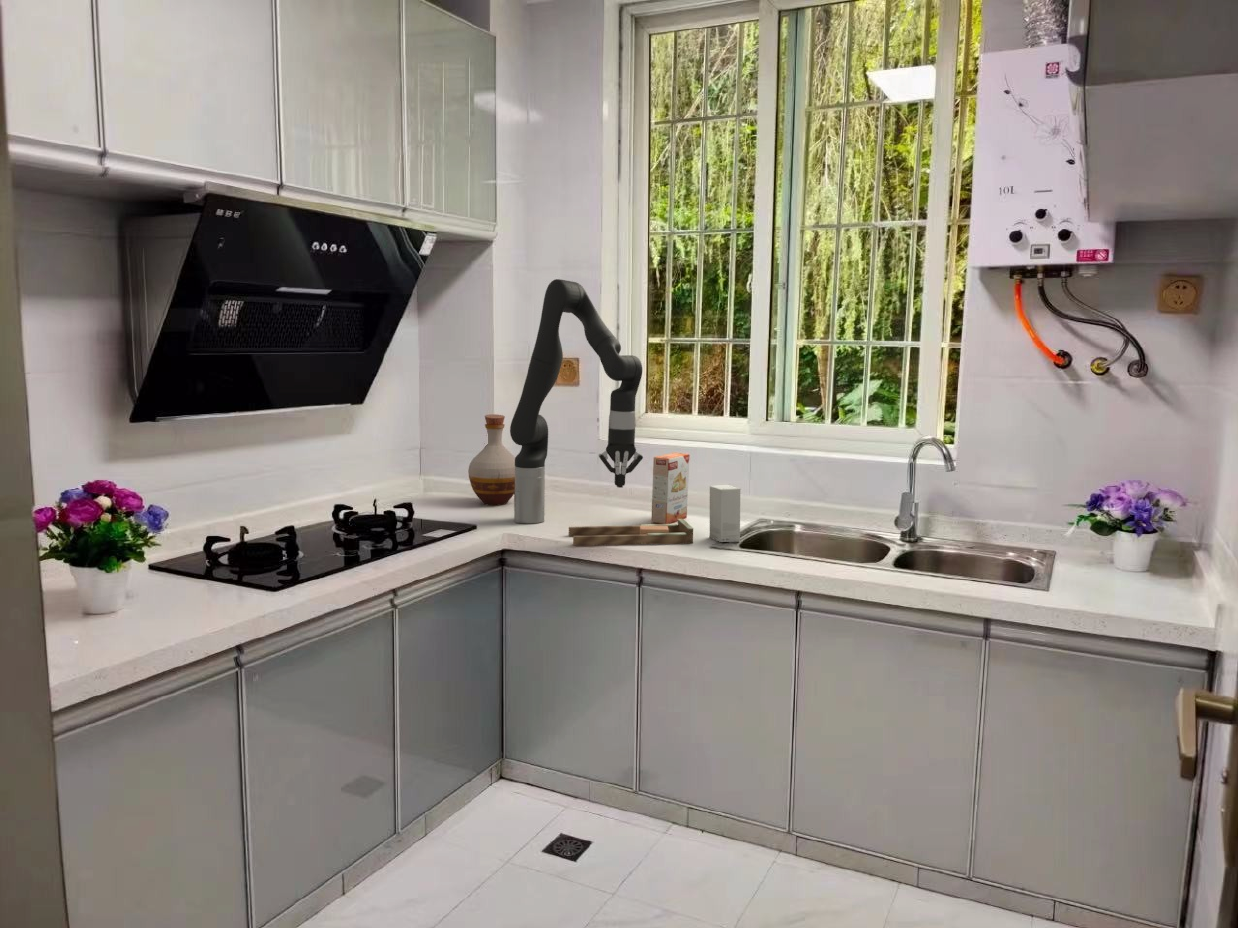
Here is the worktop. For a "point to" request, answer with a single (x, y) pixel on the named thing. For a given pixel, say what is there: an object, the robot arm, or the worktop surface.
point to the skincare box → (725, 513)
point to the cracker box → (670, 488)
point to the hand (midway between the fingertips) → (619, 487)
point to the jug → (493, 466)
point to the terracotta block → (653, 529)
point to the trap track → (630, 535)
